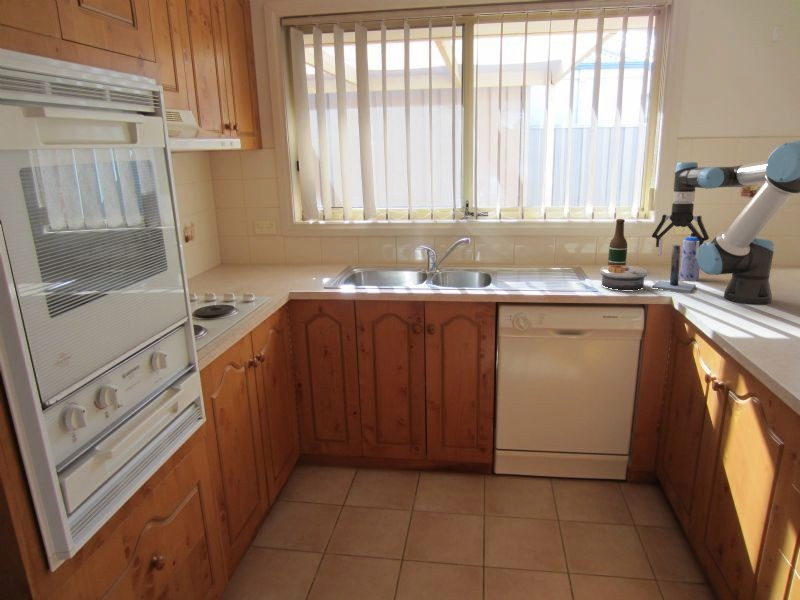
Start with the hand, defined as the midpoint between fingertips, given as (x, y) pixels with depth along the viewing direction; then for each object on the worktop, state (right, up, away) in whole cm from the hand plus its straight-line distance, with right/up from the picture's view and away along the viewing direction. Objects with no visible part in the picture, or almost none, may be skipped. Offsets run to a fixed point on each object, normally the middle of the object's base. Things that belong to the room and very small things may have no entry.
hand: (677, 256), depth 223 cm
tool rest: (0, -12, +4) cm, 13 cm away
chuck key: (0, -11, +4) cm, 12 cm away
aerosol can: (+14, -8, +19) cm, 25 cm away
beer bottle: (-10, -4, +38) cm, 40 cm away
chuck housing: (-19, -12, +8) cm, 24 cm away
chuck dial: (-19, -7, +6) cm, 21 cm away
